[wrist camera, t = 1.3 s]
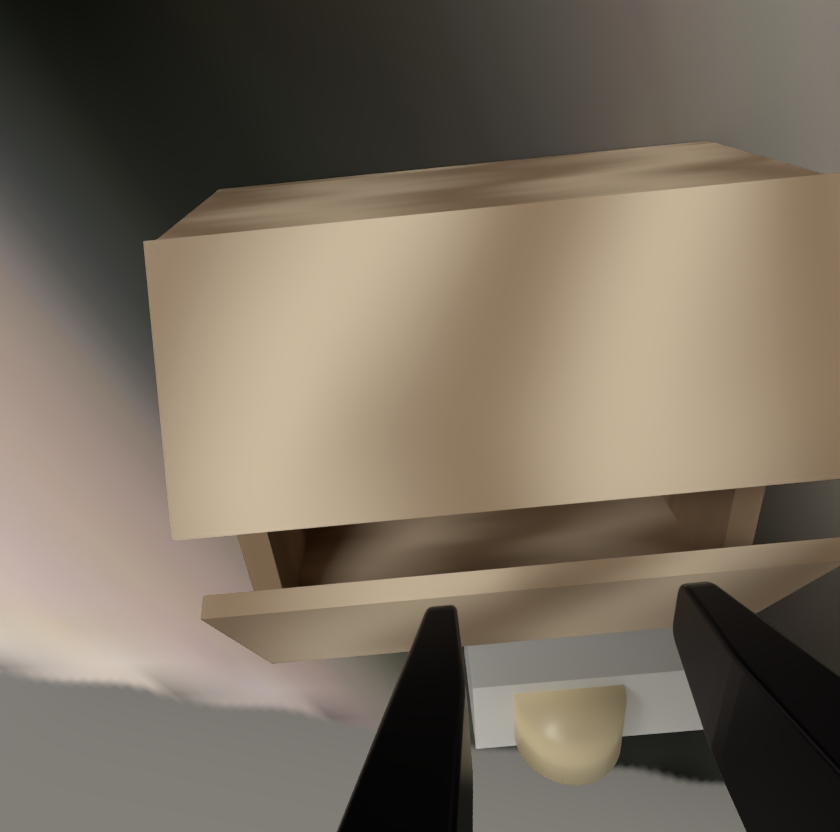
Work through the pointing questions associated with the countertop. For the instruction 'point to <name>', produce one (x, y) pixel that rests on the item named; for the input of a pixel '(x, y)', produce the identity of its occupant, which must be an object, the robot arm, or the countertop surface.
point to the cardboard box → (504, 529)
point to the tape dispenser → (578, 698)
